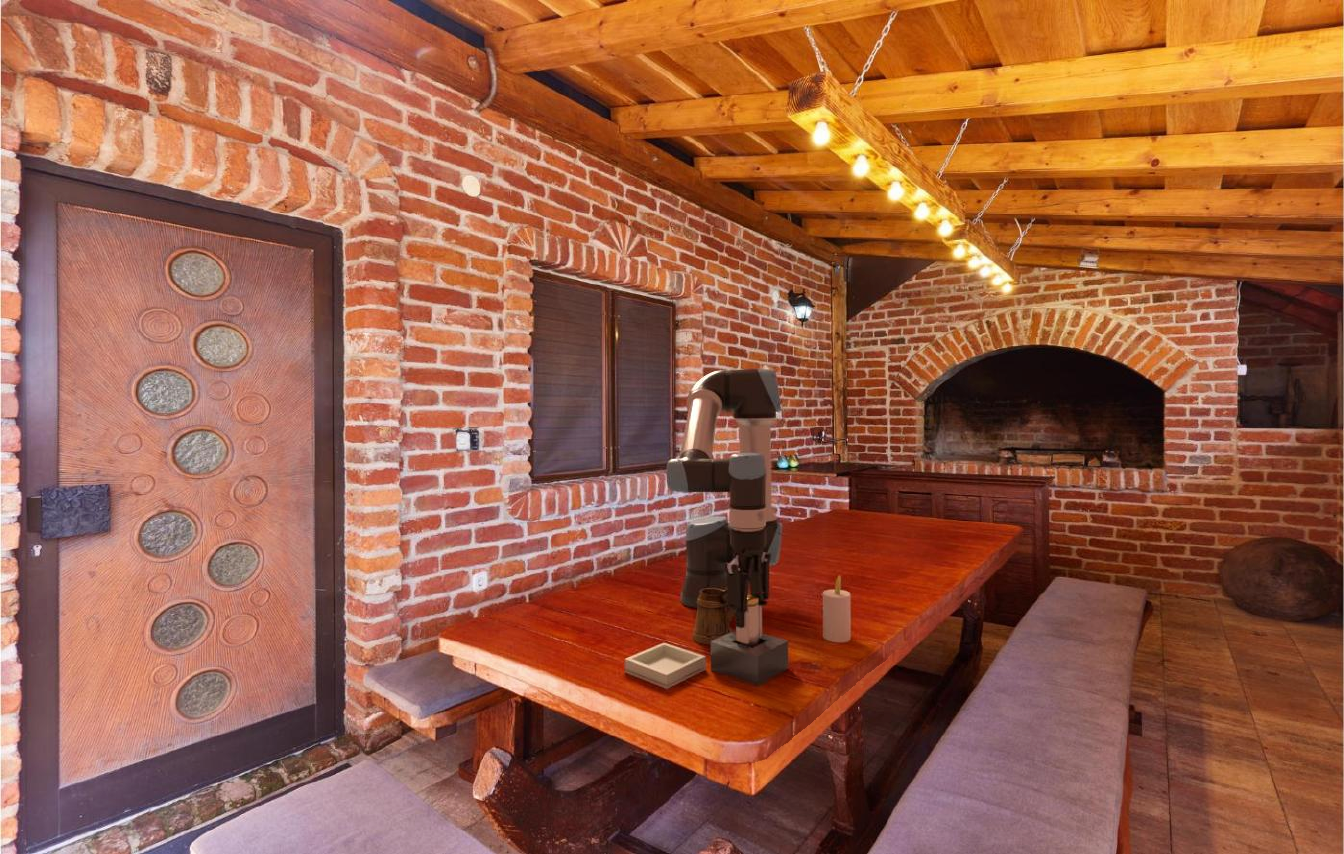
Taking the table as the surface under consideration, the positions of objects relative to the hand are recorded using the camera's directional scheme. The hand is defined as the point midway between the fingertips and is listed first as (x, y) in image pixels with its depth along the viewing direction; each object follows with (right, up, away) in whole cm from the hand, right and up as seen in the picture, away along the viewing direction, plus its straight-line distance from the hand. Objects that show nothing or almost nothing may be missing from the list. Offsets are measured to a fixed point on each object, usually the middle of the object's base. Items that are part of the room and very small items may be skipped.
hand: (749, 638), depth 135 cm
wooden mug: (-5, -6, +17) cm, 19 cm away
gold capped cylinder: (0, -7, 0) cm, 7 cm away
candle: (+23, -6, +18) cm, 29 cm away
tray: (-18, -7, 0) cm, 19 cm away
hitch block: (0, -7, 0) cm, 7 cm away
